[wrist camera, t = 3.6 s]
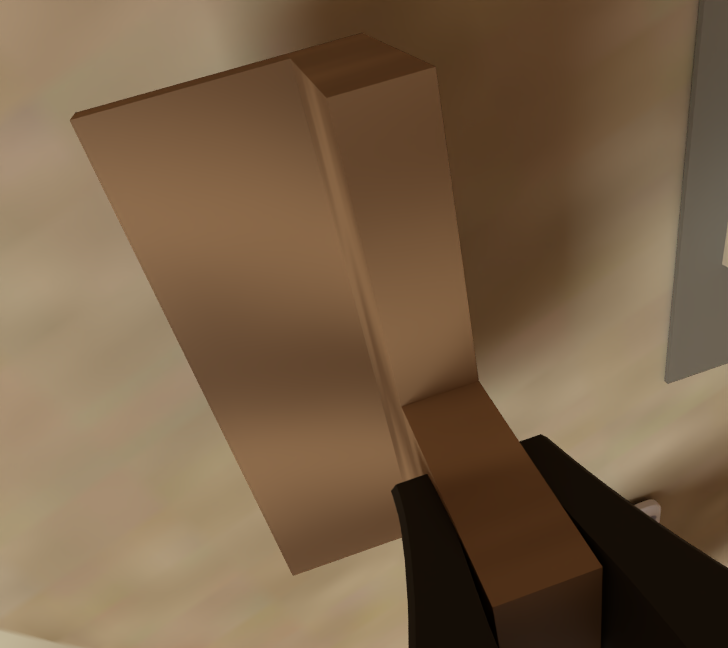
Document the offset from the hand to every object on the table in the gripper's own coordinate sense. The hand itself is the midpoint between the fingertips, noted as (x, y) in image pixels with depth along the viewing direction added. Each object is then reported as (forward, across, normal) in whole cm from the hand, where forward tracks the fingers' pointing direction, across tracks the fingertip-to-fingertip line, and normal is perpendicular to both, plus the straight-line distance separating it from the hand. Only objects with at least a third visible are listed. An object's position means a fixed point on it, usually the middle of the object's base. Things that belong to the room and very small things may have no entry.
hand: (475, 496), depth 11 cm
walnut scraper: (+5, +2, 0) cm, 6 cm away
